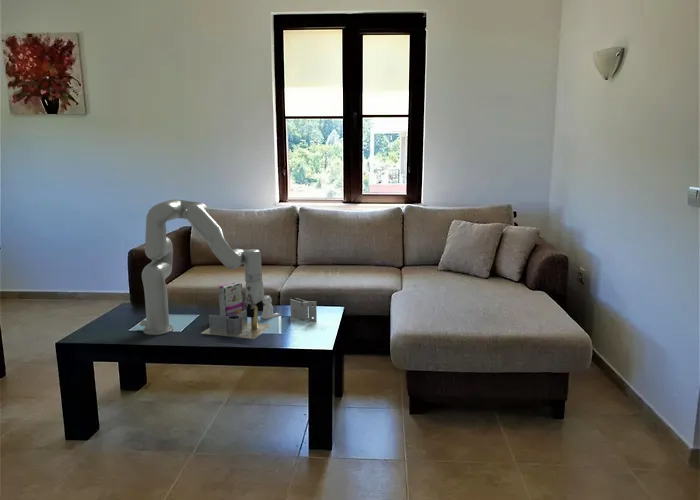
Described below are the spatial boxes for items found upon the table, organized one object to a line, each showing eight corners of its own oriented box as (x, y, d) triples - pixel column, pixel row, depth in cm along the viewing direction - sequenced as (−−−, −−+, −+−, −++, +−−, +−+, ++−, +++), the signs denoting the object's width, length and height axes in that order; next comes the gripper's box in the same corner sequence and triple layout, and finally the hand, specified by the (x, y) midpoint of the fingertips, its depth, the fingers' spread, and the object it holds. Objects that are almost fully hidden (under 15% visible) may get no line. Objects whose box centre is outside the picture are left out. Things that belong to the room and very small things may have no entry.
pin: (250, 328, 245) (249, 307, 243) (253, 326, 248) (252, 305, 246) (256, 329, 244) (255, 308, 242) (259, 327, 247) (258, 306, 245)
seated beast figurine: (281, 317, 266) (280, 293, 264) (274, 322, 258) (274, 298, 256) (263, 315, 269) (262, 292, 267) (256, 320, 261) (255, 296, 258)
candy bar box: (236, 313, 272) (235, 281, 269) (243, 315, 269) (242, 283, 266) (219, 318, 264) (217, 285, 261) (226, 320, 261) (224, 287, 258)
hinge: (317, 321, 259) (317, 301, 257) (310, 324, 255) (310, 304, 253) (293, 317, 266) (293, 297, 264) (287, 320, 262) (286, 300, 260)
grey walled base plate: (200, 335, 239) (199, 318, 238) (222, 322, 258) (221, 305, 257) (254, 341, 232) (253, 323, 231) (273, 327, 251) (272, 309, 250)
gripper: (252, 282, 232) (254, 320, 236) (269, 273, 249) (270, 309, 252) (236, 281, 234) (238, 319, 238) (254, 272, 251) (255, 308, 254)
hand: (255, 314), depth 245 cm, fingers open, 9 cm apart
